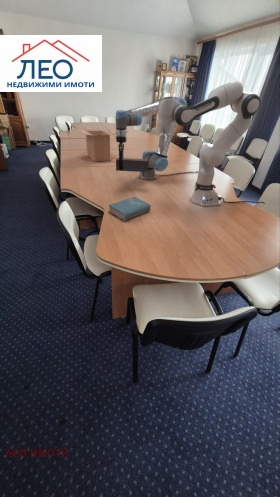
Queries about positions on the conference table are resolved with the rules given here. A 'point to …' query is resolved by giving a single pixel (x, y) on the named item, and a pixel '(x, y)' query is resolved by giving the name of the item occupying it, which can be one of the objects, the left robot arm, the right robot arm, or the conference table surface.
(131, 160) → the bar
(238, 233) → the conference table surface
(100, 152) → the box
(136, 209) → the book
